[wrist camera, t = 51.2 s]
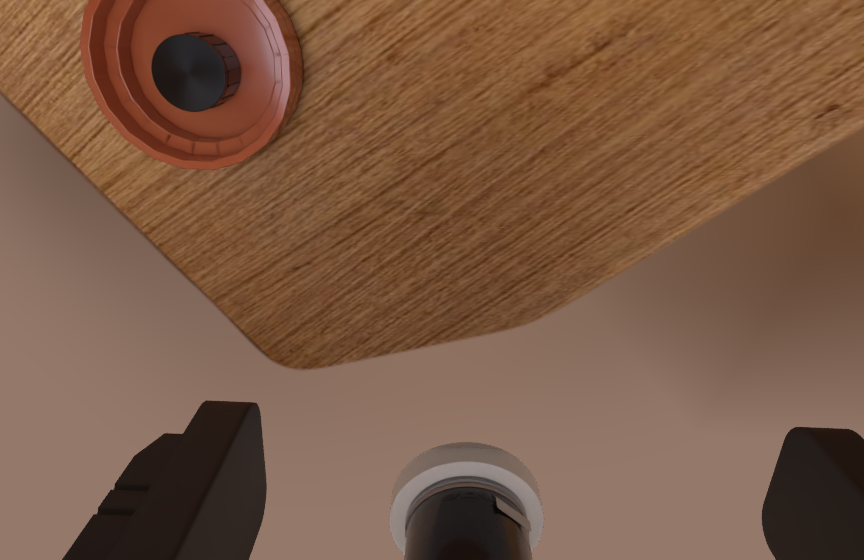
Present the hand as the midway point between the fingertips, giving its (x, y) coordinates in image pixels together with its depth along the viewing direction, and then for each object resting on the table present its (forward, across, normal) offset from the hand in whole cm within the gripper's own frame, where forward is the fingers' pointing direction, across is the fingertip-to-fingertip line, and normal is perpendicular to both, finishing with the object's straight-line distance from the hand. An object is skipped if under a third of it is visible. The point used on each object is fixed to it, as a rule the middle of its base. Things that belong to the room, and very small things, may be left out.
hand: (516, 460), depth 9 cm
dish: (+30, +15, -3) cm, 34 cm away
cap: (+27, +15, -3) cm, 31 cm away
